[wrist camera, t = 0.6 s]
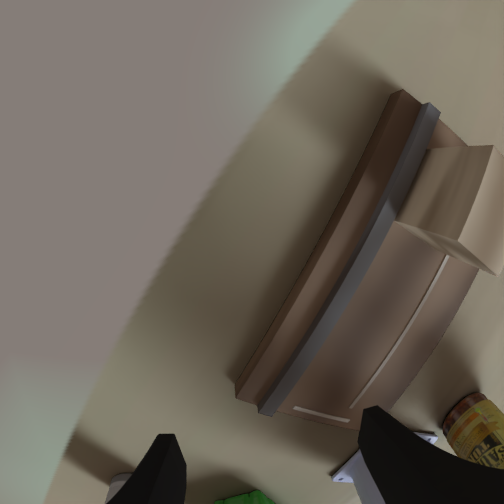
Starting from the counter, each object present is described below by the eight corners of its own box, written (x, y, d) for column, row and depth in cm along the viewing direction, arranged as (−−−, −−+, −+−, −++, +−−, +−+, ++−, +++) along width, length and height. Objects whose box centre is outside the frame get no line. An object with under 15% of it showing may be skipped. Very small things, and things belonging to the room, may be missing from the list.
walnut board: (497, 190, 19) (516, 193, 16) (363, 421, 22) (373, 439, 20) (391, 94, 17) (409, 86, 14) (234, 384, 20) (235, 405, 18)
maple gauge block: (469, 188, 17) (534, 198, 11) (440, 253, 18) (503, 281, 12) (425, 149, 16) (493, 145, 10) (392, 220, 17) (457, 240, 11)
